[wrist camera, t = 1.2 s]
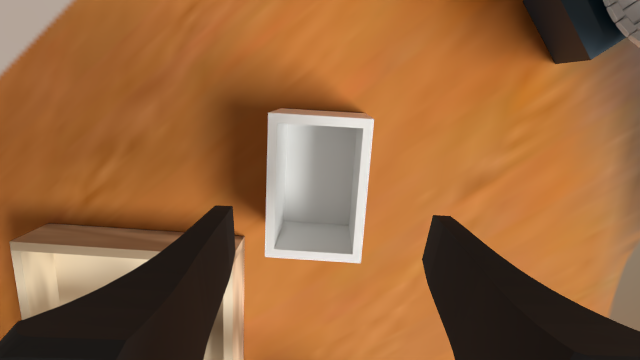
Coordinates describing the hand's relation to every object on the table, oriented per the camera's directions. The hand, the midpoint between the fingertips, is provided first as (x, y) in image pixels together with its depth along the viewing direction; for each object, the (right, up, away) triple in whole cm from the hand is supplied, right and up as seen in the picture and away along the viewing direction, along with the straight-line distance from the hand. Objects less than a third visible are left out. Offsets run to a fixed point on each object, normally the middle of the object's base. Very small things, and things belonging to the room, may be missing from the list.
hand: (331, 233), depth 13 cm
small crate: (0, +3, +11) cm, 11 cm away
